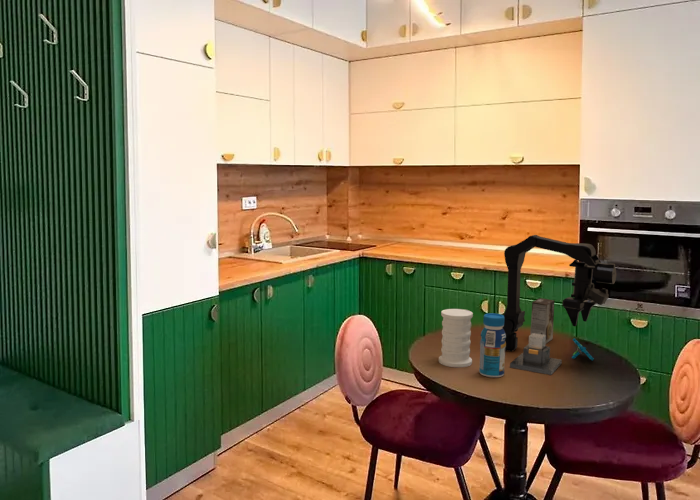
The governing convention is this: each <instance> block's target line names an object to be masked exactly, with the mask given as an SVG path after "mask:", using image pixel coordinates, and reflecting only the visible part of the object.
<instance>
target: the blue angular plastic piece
mask: <svg viewBox="0 0 700 500" xmlns="http://www.w3.org/2000/svg"><path fill="white" fill-rule="evenodd" d="M572 341H573V343H574V344H575V345H577V349H576V351H574V353H572V356H571V359H573V360H574V359H576V358H577V357H578V356H579V355H582V354H585V355H586V356H587V357H588V359H589V360H591V361H594V360H595V358H594V357H593V356H592V355H591V354H590V353H589V352H588V350H587V347H585V346H583V345H582V344H581V343H580V342H579V341H578V340H577V339H576V338H573V339H572Z"/></svg>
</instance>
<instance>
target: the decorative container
mask: <svg viewBox="0 0 700 500" xmlns="http://www.w3.org/2000/svg"><path fill="white" fill-rule="evenodd" d="M440 314H441V317H442V321H441V325H442V328H441V329H442V330H441V335H442V338H441V349H440V351H441V355H439V356H438V363H439V364H441V365H442V366H445V367H450V368H468V367H470V366H471V365H472V364H473V359H472V357H470V354H471V348H470V347H471V343H472V342H471V335H472V331H471V328H472V321H471V320H472V318H473V316H474V315H473V314H474V313H473V312H472V311H470V310H468V309H463V308H446V309H443V310H441V313H440Z"/></svg>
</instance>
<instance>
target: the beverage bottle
mask: <svg viewBox="0 0 700 500" xmlns="http://www.w3.org/2000/svg"><path fill="white" fill-rule="evenodd" d="M504 320H505V318H504V314H501V313H492V312H491V313H485V314H484V315H483V321H482V322H483V326H484V327H483V328H482V330H481V332H480V338H481V339H480V340H479V346H480V347H479V368H478V369H479V370H478V371H479V373H480V375H482V376H484V377H487V378H500V377H503V376H504V375H505V362H506V361H505V360H506V351H505V347H506V342H505V338H506V334H505V331H504V329H503V328H502V327H503V326H504Z"/></svg>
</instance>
